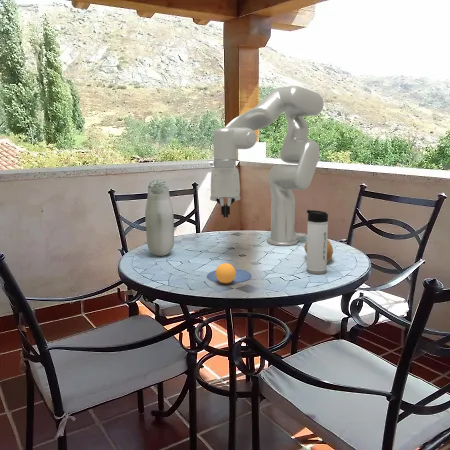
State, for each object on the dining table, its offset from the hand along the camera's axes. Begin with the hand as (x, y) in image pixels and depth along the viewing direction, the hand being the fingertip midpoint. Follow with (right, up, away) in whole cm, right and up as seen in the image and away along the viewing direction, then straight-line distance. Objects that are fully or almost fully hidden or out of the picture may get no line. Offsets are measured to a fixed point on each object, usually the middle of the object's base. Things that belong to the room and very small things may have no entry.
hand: (225, 216), depth 156 cm
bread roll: (+33, -15, -1) cm, 36 cm away
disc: (+1, -19, -18) cm, 26 cm away
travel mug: (+29, -18, -14) cm, 37 cm away
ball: (0, -17, -25) cm, 30 cm away
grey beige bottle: (-24, -14, +8) cm, 29 cm away
